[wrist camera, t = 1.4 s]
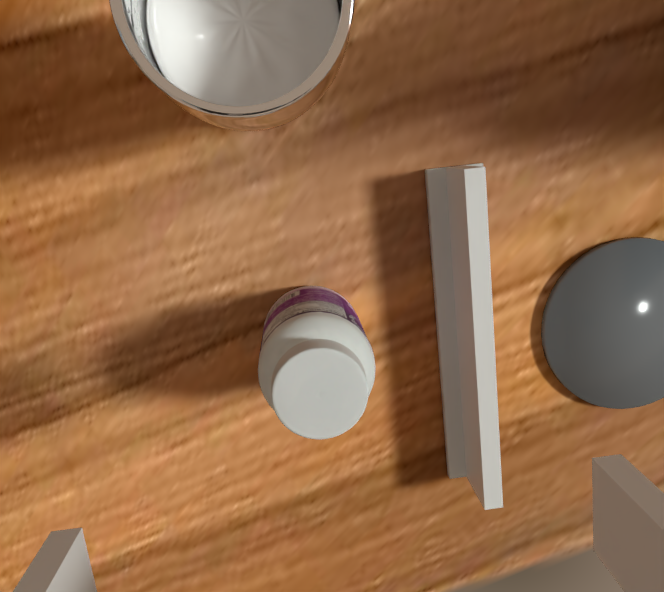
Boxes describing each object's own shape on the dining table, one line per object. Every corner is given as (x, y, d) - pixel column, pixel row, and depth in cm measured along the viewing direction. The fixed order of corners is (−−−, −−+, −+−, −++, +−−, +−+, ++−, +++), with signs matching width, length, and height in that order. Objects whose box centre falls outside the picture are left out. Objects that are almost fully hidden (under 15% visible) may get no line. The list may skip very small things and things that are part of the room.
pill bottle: (360, 372, 35) (387, 453, 26) (267, 378, 35) (259, 462, 25) (357, 279, 34) (384, 328, 24) (260, 285, 33) (249, 336, 24)
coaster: (543, 415, 36) (548, 419, 36) (538, 248, 34) (542, 250, 33) (707, 392, 37) (714, 396, 36) (712, 226, 34) (720, 228, 34)
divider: (447, 474, 37) (466, 512, 33) (424, 169, 33) (443, 171, 29) (496, 467, 37) (521, 504, 33) (480, 163, 33) (506, 164, 29)
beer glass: (226, 160, 32) (173, 166, 17) (164, 26, 30) (48, -91, 16) (349, 104, 32) (401, 64, 17) (293, -33, 30) (299, -208, 15)
